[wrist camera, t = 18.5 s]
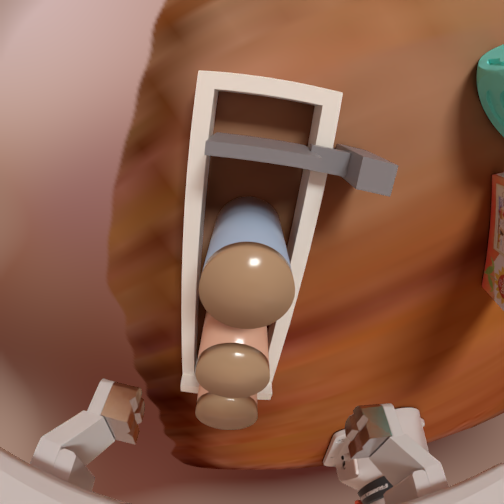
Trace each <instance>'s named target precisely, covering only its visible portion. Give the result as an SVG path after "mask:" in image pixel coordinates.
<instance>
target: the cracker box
mask: <svg viewBox="0 0 504 504" xmlns="http://www.w3.org/2000/svg"><path fill="white" fill-rule="evenodd" d="M482 288H483V289H484V290H485V291H486V292H487V293H488V294H489V295H490V296H491V297H492V298H493V300H494V301H495V302H496V303H497V304H498V305H499V306H500V307H501V308H502V309H503V311H504V172H502V173H497V174H492V200H491V217H490V230H489V240H488V248H487V256H486V263H485V269H484V275H483V281H482Z"/></svg>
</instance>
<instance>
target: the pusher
mask: <svg viewBox="0 0 504 504" xmlns="http://www.w3.org/2000/svg"><path fill="white" fill-rule="evenodd" d="M204 155H209V156H218V157H227V158H236V159H244V160H251V161H258V162H265V163H272V164H279V165H285V166H291V167H297V168H303V169H307V170H312V171H317V172H323V173H328V174H333V175H338V176H341V177H342V178H343V179H345V180H346V181H347V182H348V183H349V184H351V185H352V186H353V187H354V188H355V189H358V190H363V191H368V192H372V193H377V194H381V195H386V196H390V195H391V192H392V188H393V184H394V180H395V176H396V172H397V168H398V165H396V164H394V163H392V162H390V161H388V160H385V159H383V158H381V157H379V156H377V155H375V154H373V153H370V152H368V151H366V150H362V149H358V148H354V147H350V146H346V145H341V144H337V146H336V149H333V148H329V147H324V146H319V145H314V144H310V146H309V148H308V147H307V146H305V145H302V144H297V143H291V142H285V141H279V140H273V139H266V138H259V137H252V136H244V135H236V134H228V133H218V132H217V133H215V134H214V135H213V136H211V137H210V138H209V139H208V140H206V143H205V152H204Z"/></svg>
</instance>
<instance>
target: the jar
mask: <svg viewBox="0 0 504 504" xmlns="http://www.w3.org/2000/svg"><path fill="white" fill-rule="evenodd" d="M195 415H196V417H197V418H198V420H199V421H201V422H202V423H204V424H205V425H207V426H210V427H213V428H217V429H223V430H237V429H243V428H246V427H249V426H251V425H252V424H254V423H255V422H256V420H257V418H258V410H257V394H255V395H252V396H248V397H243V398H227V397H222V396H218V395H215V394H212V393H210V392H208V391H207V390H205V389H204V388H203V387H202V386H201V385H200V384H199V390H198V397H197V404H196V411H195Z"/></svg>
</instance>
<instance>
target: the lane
mask: <svg viewBox="0 0 504 504" xmlns="http://www.w3.org/2000/svg"><path fill="white" fill-rule="evenodd" d="M219 91H224V92H233V93H242V94H250V95H258V96H265V97H271V98H277V99H283V100H289V101H295V102H300V103H305V104H310V105H315V107H314V113H313V119H312V125H311V130H310V136H309V141H308V148H309V146H310V144H314V145H319V146H324V147H329V148H333V144H334V139H335V134H336V129H337V123H338V118H339V113H340V107H341V101H342V95H343V93H341V92H337V91H333V90H329V89H325V88H321V87H316V86H312V85H307V84H302V83H297V82H292V81H286V80H280V79H274V78H268V77H261V76H254V75H246V74H237V73H227V72H215V71H200V70H199V71H198V78H197V85H196V92H195V100H194V108H193V117H192V126H191V135H190V145H189V155H188V167H187V179H186V193H185V209H184V228H183V252H182V302H181V320H182V370H183V374H182V379H181V384H180V386H181V391H184V392H191V393H198V390H199V383H198V381H197V379H196V375H195V372H196V366H197V360H198V358H197V336H198V311H199V282H200V273H201V257H202V243H203V230H204V217H205V206H206V195H207V184H208V175H209V165H210V156H209V155H204V152H205V143H206V140H208V139H209V138H210V137H211V136H213V130H214V122H215V114H216V107H217V99H218V92H219ZM326 178H327V173H323V172H317V171H312V170H307V169H303V173H302V178H301V183H300V188H299V193H298V198H297V203H296V208H295V213H294V218H293V223H292V227H291V232H290V237H289V242H288V246H287V253H288V257H289V261H290V266H291V270H292V274H293V279H294V283H295V296H294V300H293V303H292V305H291V307H290V308H289V310H288V311H287V312H286V313H285V314H284V315H283V316H282V317H281V318H280V319H279V320H277V321H275V322H274V323H272V324H270V325H269V330H268V334H267V337H268V353H269V369H270V380H269V383H268V385H267V386H266V387H265V388H264V389H263V390H262V391H260V392H259V393H257V399H260V400H270V399H271V396H272V380H273V377H274V374H275V370H276V367H277V364H278V361H279V358H280V354H281V351H282V348H283V345H284V341H285V338H286V334H287V331H288V328H289V324H290V321H291V317H292V314H293V310H294V307H295V303H296V300H297V296H298V292H299V289H300V285H301V281H302V278H303V274H304V270H305V266H306V262H307V258H308V255H309V251H310V247H311V243H312V239H313V234H314V230H315V226H316V222H317V218H318V214H319V209H320V205H321V201H322V196H323V192H324V187H325V183H326Z"/></svg>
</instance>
